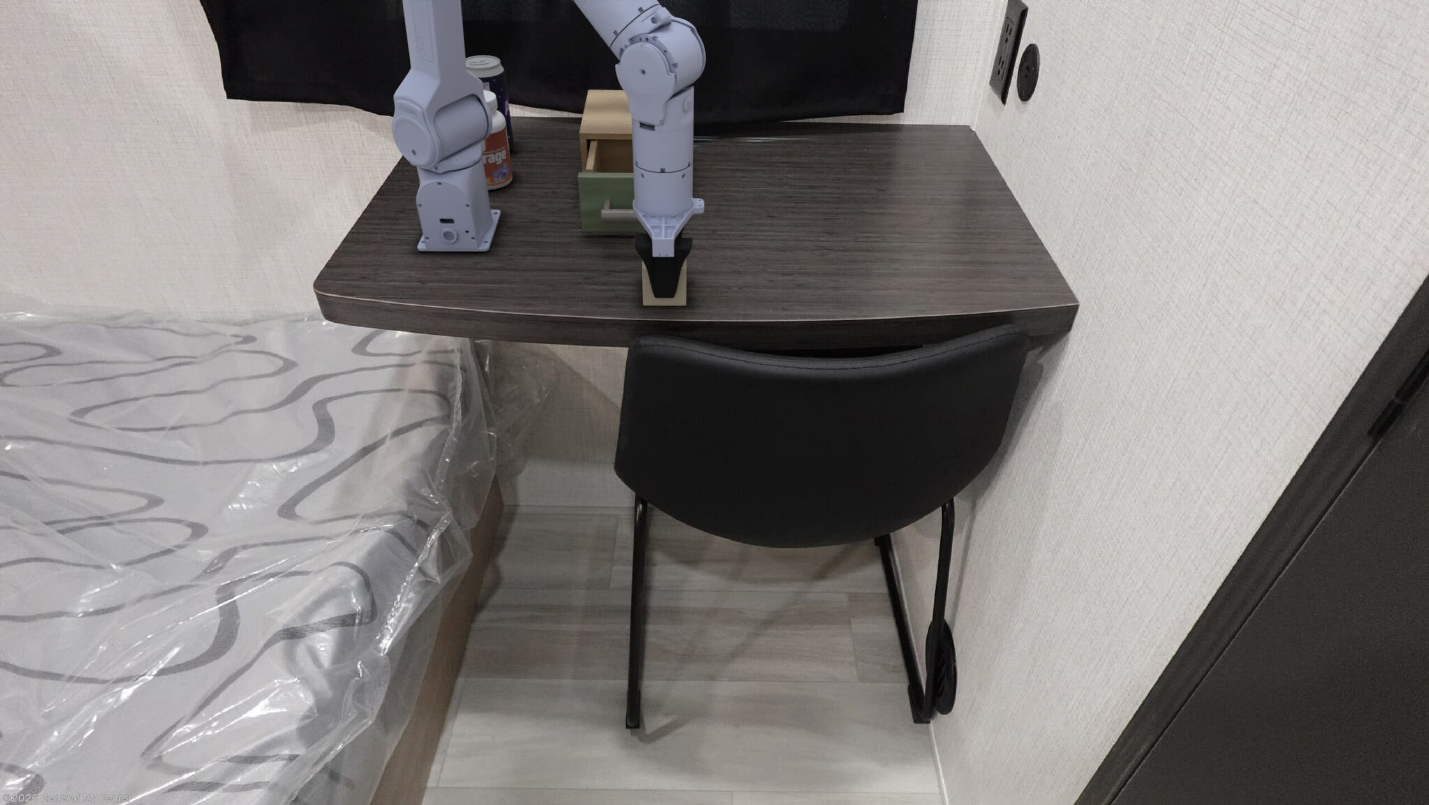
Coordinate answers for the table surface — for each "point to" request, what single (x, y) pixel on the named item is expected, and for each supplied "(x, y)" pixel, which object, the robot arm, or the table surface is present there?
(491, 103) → the pill bottle
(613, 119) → the cabinet
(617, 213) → the drawer
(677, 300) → the block
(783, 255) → the table surface
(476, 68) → the beverage can
